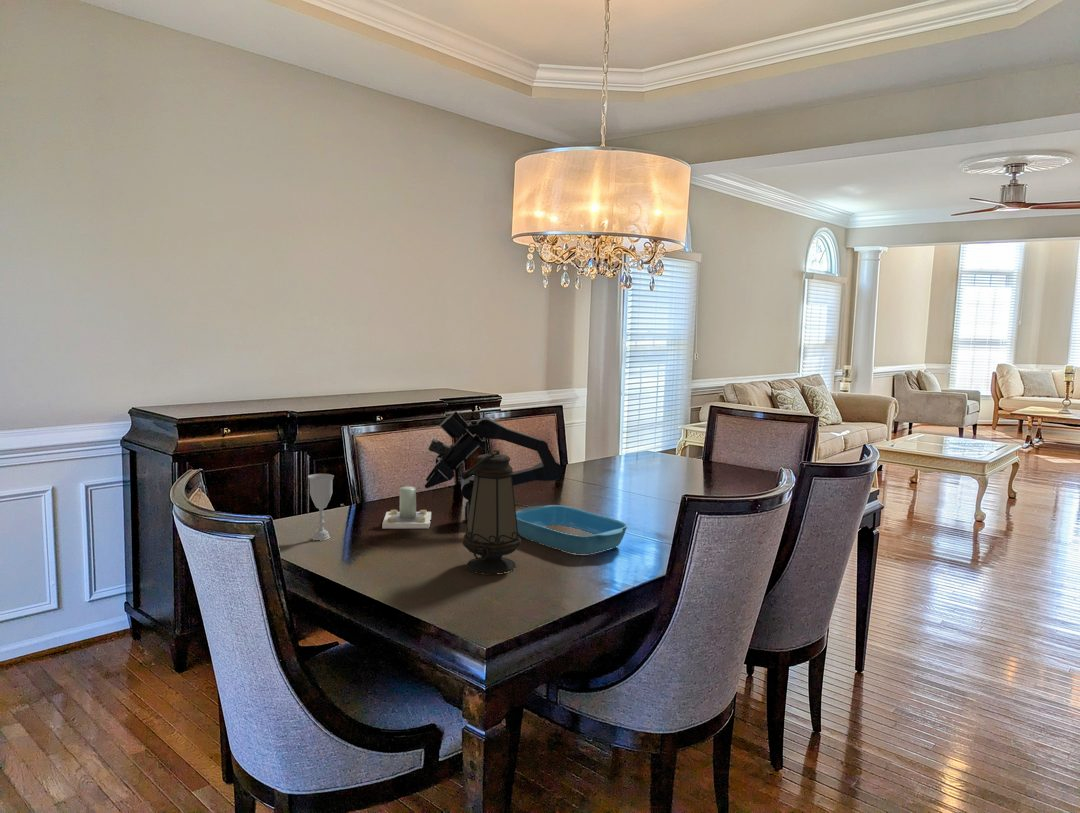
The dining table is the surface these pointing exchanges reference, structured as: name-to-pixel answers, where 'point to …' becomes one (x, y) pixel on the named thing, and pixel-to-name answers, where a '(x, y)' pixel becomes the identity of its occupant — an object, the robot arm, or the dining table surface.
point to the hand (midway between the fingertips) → (426, 484)
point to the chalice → (321, 499)
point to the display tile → (407, 520)
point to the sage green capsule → (407, 502)
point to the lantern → (491, 515)
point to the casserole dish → (540, 517)
